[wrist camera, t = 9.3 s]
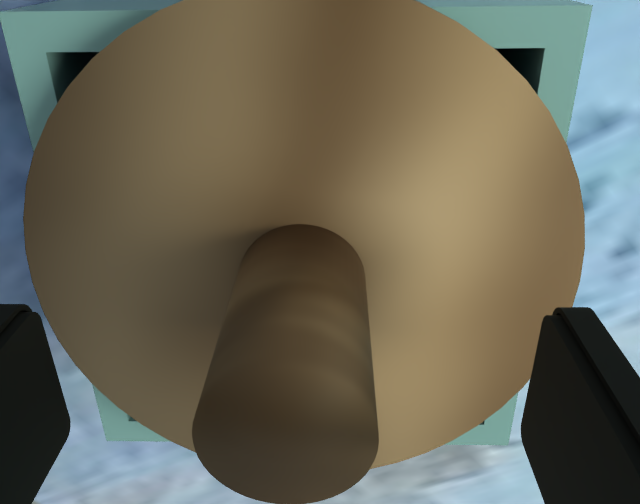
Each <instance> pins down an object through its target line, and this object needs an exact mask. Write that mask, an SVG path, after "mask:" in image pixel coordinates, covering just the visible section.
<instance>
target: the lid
mask: <svg viewBox="0 0 640 504" xmlns="http://www.w3.org/2000/svg"><path fill="white" fill-rule="evenodd" d="M23 222H24V236H25V250H26V255H27V260H28V265H29V269H30V274H31V278H32V283H33V285H34V288H35V291H36V293H37V296H38V299H39V302H40V304H41V307H42V310H43V312H44V314H45V316H46V318H47V320H48V322H49V324H50V326H51V327H52V329H53V331H54V333H55V335H56V337H57V339H58V340H59V342H60V343H61V345H62V346H63V348H64V349H65V350H66V352H67V353H68V355H69V356H70V358H71V359H72V360H73V362H74V363H75V365H76V366H77V367H78V368H79V369H80V370H81V371H82V373H83V374H84V375H85V376H86V377H87V378H88V379H89V380H90V382H91V383H92V384H93V385H94V386H95V387H96V388H97V389H98V390H99V391H100V392H101V393H102V394H104V395H105V396H106V397H107V398H108V399H109V400H110V401H111V402H112V403H114V404H115V405H116V406H117V407H118V408H119V409H121V410H122V411H124V412H125V413H126V414H128V415H129V416H131V417H132V418H133V419H135V420H136V421H137V422H139V423H140V424H142V425H143V426H145V427H147V428H148V429H150V430H152V431H154V432H155V433H157V434H159V435H160V436H162V437H164V438H166V439H167V440H169V441H172V442H174V443H176V444H178V445H180V446H183V447H185V448H187V449H189V450H191V451H194V452H196V453H197V455H198V458H199V459H200V461H201V462H202V464H203V466H204V467H205V468H206V469H207V470H208V472H209V473H210V474H211V475H212V476H213V477H214V478H216V479H217V480H218V481H219V482H221V483H222V484H223V485H225V486H226V487H228V488H230V489H231V490H233V491H235V492H237V493H239V494H242V495H244V496H246V497H249V498H252V499H255V500H259V501H263V502H268V503H275V504H305V503H313V502H317V501H322V500H325V499H328V498H331V497H334V496H336V495H338V494H340V493H342V492H344V491H346V490H347V489H349V488H351V487H352V486H353V485H355V484H356V483H357V482H359V481H360V480H361V479H362V478H363V477H364V476H365V475H366V473H367V472H368V470H369V469H372V468H376V467H381V466H385V465H389V464H393V463H397V462H400V461H403V460H406V459H409V458H412V457H415V456H418V455H421V454H424V453H426V452H429V451H431V450H433V449H435V448H437V447H440V446H442V445H444V444H446V443H448V442H451V441H453V440H454V439H456V438H458V437H459V436H461V435H463V434H464V433H466V432H468V431H470V430H471V429H473V428H475V427H476V426H478V425H479V424H480V423H482V422H483V421H484V420H486V419H487V418H489V417H490V416H491V415H493V414H494V413H495V412H497V411H498V410H499V409H501V408H502V407H503V406H504V405H505V404H506V403H507V402H508V401H509V400H510V399H511V398H512V397H513V396H514V395H515V394H516V393H518V392H519V391H520V390H521V389H522V388H523V387H524V385H525V384H526V383H527V382H528V381H529V379H530V378H531V374H532V369H533V364H534V359H535V354H536V349H537V344H538V339H539V334H540V329H541V324H542V321H543V318H544V316H546V315H552V314H553V311H554V310H555V309H556V308H557V307H572V306H573V302H574V299H575V296H576V292H577V289H578V286H579V282H580V277H581V270H582V263H583V256H584V249H585V225H584V209H583V203H582V197H581V191H580V185H579V179H578V176H577V173H576V170H575V167H574V164H573V161H572V158H571V155H570V152H569V149H568V146H567V144H566V142H565V140H564V138H563V136H562V134H561V132H560V130H559V129H558V127H557V125H556V123H555V121H554V119H553V117H552V115H551V113H550V111H549V110H548V109H547V107H546V106H545V105H544V103H543V102H542V100H541V99H540V98H539V96H538V95H537V94H536V92H535V91H534V90H533V88H532V87H531V85H530V84H529V83H528V81H527V80H526V79H525V78H524V77H523V76H522V75H521V74H520V73H519V72H518V71H517V70H516V69H515V68H514V67H513V66H512V65H511V64H510V63H509V62H508V61H507V60H506V59H505V58H504V57H503V56H502V55H501V54H500V53H499V52H498V51H497V50H496V49H494V48H493V47H491V46H490V45H489V44H487V43H486V42H485V41H483V40H482V39H481V38H479V37H478V36H477V35H475V34H474V33H472V32H471V31H470V30H468V29H467V28H466V27H464V26H463V25H461V24H460V23H458V22H457V21H455V20H453V19H451V18H449V17H447V16H445V15H444V14H442V13H440V12H438V11H436V10H434V9H432V8H430V7H428V6H427V5H425V4H423V3H421V2H419V1H417V0H183V1H180V2H178V3H176V4H173V5H171V6H168V7H166V8H163V9H161V10H159V11H157V12H156V13H154V14H152V15H151V16H149V17H147V18H146V19H144V20H142V21H141V22H139V23H137V24H136V25H134V26H133V27H131V28H129V29H128V30H126V31H124V32H123V33H122V34H121V35H119V36H118V37H117V38H116V39H115V40H113V41H112V42H111V43H110V44H109V45H107V46H106V47H105V48H104V49H103V50H101V51H100V52H99V53H98V54H97V55H96V56H94V57H93V58H92V59H91V60H90V62H89V63H88V64H87V65H86V66H85V67H84V69H83V70H82V71H81V72H80V73H79V74H78V75H77V77H76V78H75V79H74V80H73V81H72V82H71V83H70V85H69V86H68V87H67V89H66V90H65V92H64V93H63V95H62V97H61V98H60V100H59V101H58V103H57V105H56V106H55V108H54V109H53V111H52V113H51V114H50V116H49V118H48V119H47V122H46V124H45V127H44V129H43V131H42V134H41V136H40V139H39V141H38V143H37V146H36V148H35V151H34V154H33V158H32V162H31V166H30V171H29V175H28V179H27V183H26V191H25V203H24V216H23Z"/></svg>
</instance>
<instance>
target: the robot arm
mask: <svg viewBox="0 0 640 504" xmlns="http://www.w3.org/2000/svg"><path fill="white" fill-rule="evenodd" d="M69 432H70V417H69V413H68V410H67V407H66V403H65V400H64V396H63V393H62V389H61V386H60V382H59V379H58V375H57V372H56V368H55V365H54V361H53V358H52V355H51V351H50V348H49V344H48V341H47V337H46V334H45V330H44V327H43V323H42V320H41V317H40V315H39V314H38V313H36V312H32V310H31V308H30V307H29V306H27V305H25V304H0V504H32V502H33V500H34V498H35V496H36V495H37V493H38V491H39V489H40V487H41V485H42V484H43V482H44V480H45V478H46V476H47V475H48V473H49V471H50V469H51V467H52V465H53V464H54V462H55V460H56V458H57V456H58V455H59V453H60V451H61V449H62V447H63V445H64V444H65V442H66V440H67V438H68V435H69ZM521 437H522V442H523V446H524V448H525V451H526V454H527V457H528V459H529V462H530V465H531V467H532V470H533V473H534V476H535V478H536V481H537V484H538V486H539V489H540V492H541V495H542V497H543V500H544V503H545V504H640V377H639V376H638V374H637V373H636V372H635V370H634V369H633V367H632V366H631V364H630V363H629V361H628V360H627V359H626V357H625V356H624V354H623V353H622V351H621V350H620V349H619V347H618V346H617V344H616V343H615V341H614V340H613V338H612V337H611V336H610V334H609V333H608V331H607V330H606V328H605V327H604V326H603V324H602V323H601V321H600V320H599V318H598V317H597V315H596V314H595V313H594V311H593V310H592V309H591V308H588V307H557V308H556V309H555V310H554V311H553V314H552V315H546V316H544V318H543V321H542V324H541V329H540V334H539V339H538V344H537V349H536V354H535V359H534V364H533V369H532V374H531V378H530V383H529V388H528V393H527V398H526V403H525V408H524V413H523V418H522V423H521Z"/></svg>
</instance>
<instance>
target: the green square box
mask: <svg viewBox="0 0 640 504" xmlns="http://www.w3.org/2000/svg"><path fill="white" fill-rule="evenodd" d="M180 1H183V0H57V1H52V2H46V3H41V4H36V5H31V6H25V7H20V8H15V9H10V10H5V11H0V21H1V25H2V29H3V33H4V37H5V41H6V45H7V49H8V53H9V57H10V61H11V65H12V69H13V73H14V77H15V81H16V85H17V89H18V93H19V97H20V100H21V104H22V108H23V112H24V116H25V120H26V124H27V128H28V132H29V136H30V140H31V144H32V148H33V152H34V151H35V148H36V146H37V143H38V141H39V139H40V136H41V134H42V131H43V129H44V127H45V124H46V122H47V119H48V118H49V116H50V114H51V113H52V111H53V109H54V108H55V106H56V105H57V103H58V101H59V100H60V98H61V97H62V95H63V93H64V92H65V90H66V89H67V87H68V86H69V85H70V83H71V82H72V81H73V80H74V79H75V78H76V77H77V75H78V74H79V73H80V72H81V71H82V70H83V69H84V67H85V66H86V65H87V64H88V63H89V62H90V60H91V59H92V58H93V57H94V56H96V55H97V54H98V53H99V52H100V51H101V50H103V49H104V48H105V47H106V46H107V45H109V44H110V43H111V42H112V41H113V40H115V39H116V38H117V37H118V36H119V35H121V34H122V33H123V32H124V31H126V30H128V29H129V28H131V27H133V26H134V25H136V24H137V23H139V22H141V21H142V20H144V19H146V18H147V17H149V16H151V15H152V14H154V13H156V12H157V11H159V10H161V9H163V8H166V7H168V6H171V5H173V4H176V3H178V2H180ZM417 1H419V2H421V3H423V4H425V5H427V6H428V7H430V8H432V9H434V10H436V11H438V12H440V13H442V14H444V15H445V16H447V17H449V18H451V19H453V20H455V21H457V22H458V23H460V24H461V25H463V26H464V27H466V28H467V29H468V30H470V31H471V32H472V33H474V34H475V35H477V36H478V37H479V38H481V39H482V40H483V41H485V42H486V43H487V44H489V45H490V46H491V47H493V48H494V49H496V50H497V51H498V52H499V53H500V54H501V55H502V56H503V57H504V58H505V59H506V60H507V61H508V62H509V63H510V64H511V65H512V66H513V67H514V68H515V69H516V70H517V71H518V72H519V73H520V74H521V75H522V76H523V77H524V78H525V79H526V80H527V81H528V83H529V84H530V85H531V87H532V88H533V90H534V91H535V92H536V94H537V95H538V96H539V98H540V99H541V100H542V102H543V103H544V105H545V106H546V107H547V109H548V110H549V111H550V113H551V115H552V117H553V119H554V121H555V123H556V125H557V127H558V129H559V130H560V132H561V134H562V136H563V138H564V140H565V142H566V141H567V136H568V131H569V125H570V120H571V115H572V110H573V105H574V99H575V94H576V89H577V84H578V79H579V73H580V68H581V63H582V58H583V53H584V47H585V42H586V37H587V32H588V27H589V21H590V16H591V11H592V6H593V5H589V4H585V3H580V2H576V1H572V0H417ZM92 385H93V384H92ZM93 389H94V393H95V397H96V401H97V405H98V409H99V413H100V417H101V421H102V424H103V428H104V432H105V436H106V440H107V441H169V440H167V439H166V438H164V437H162V436H160V435H159V434H157V433H155V432H154V431H152V430H150V429H148V428H147V427H145V426H143V425H142V424H140V423H139V422H137V421H136V420H135V419H133V418H132V417H131V416H129V415H128V414H126V413H125V412H124V411H122V410H121V409H119V408H118V407H117V406H116V405H115V404H114V403H112V402H111V401H110V400H109V399H108V398H107V397H106V396H105V395H104V394H102V393H101V392H100V391H99V390H98V389H97V388H96V387H95V386H94V385H93ZM517 396H518V393H516V394H515V395H514V396H513V397H512V398H511V399H510V400H509V401H508V402H507V403H506V404H505V405H504V406H503V407H502V408H501V409H499V410H498V411H497V412H495V413H494V414H493V415H491V416H490V417H489V418H487V419H486V420H484V421H483V422H482V423H480V424H479V425H478V426H476V427H475V428H473V429H471V430H470V431H468V432H466V433H464V434H463V435H461V436H459V437H458V438H456V439H454V440H453V441H451V442H448V443H446V444H444V445H508V443H509V437H510V432H511V427H512V422H513V417H514V411H515V406H516V401H517ZM170 442H172V441H170Z"/></svg>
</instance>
